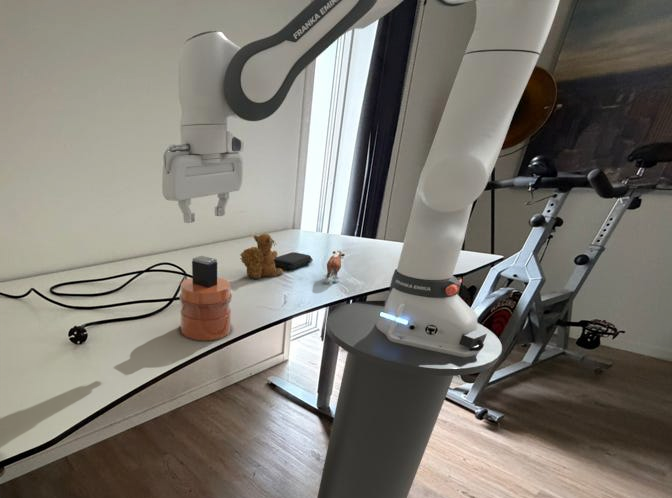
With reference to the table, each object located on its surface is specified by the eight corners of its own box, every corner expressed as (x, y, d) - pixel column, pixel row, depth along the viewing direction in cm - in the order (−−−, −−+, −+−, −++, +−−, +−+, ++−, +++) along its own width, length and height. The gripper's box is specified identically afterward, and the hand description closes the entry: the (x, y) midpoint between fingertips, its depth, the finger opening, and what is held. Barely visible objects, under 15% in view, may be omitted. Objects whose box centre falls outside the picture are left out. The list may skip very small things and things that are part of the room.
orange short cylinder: (241, 328, 92) (242, 283, 86) (207, 346, 85) (206, 297, 79) (204, 315, 100) (204, 272, 94) (170, 330, 92) (167, 285, 87)
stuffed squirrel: (284, 273, 128) (288, 233, 122) (258, 283, 120) (261, 241, 114) (261, 267, 135) (263, 229, 128) (234, 277, 127) (236, 236, 120)
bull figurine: (342, 273, 127) (347, 249, 123) (335, 286, 116) (340, 259, 112) (329, 272, 128) (333, 248, 124) (321, 284, 118) (325, 258, 114)
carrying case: (292, 272, 129) (316, 263, 137) (293, 264, 127) (317, 255, 136) (267, 266, 136) (291, 258, 144) (268, 258, 134) (292, 250, 143)
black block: (217, 284, 86) (217, 259, 83) (208, 288, 84) (208, 262, 81) (201, 280, 89) (201, 255, 86) (192, 283, 87) (191, 258, 84)
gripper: (175, 144, 64) (179, 229, 71) (249, 141, 77) (246, 213, 83) (151, 145, 68) (157, 225, 75) (225, 142, 80) (224, 211, 87)
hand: (205, 219), depth 79 cm, fingers open, 8 cm apart
